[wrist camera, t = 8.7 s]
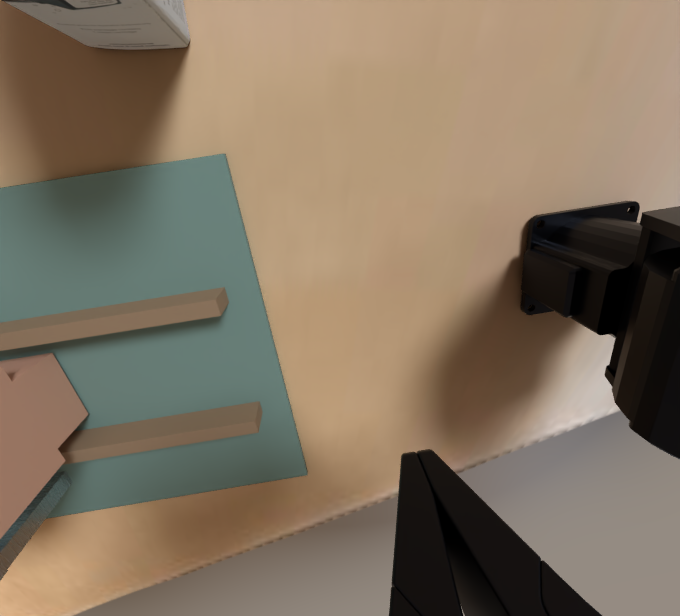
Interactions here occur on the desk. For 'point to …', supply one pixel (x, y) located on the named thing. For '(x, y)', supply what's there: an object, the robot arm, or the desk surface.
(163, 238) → the plate
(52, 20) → the ink box
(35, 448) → the salmon orange block
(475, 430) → the desk surface
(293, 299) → the desk surface
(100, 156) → the desk surface
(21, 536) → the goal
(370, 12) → the desk surface
